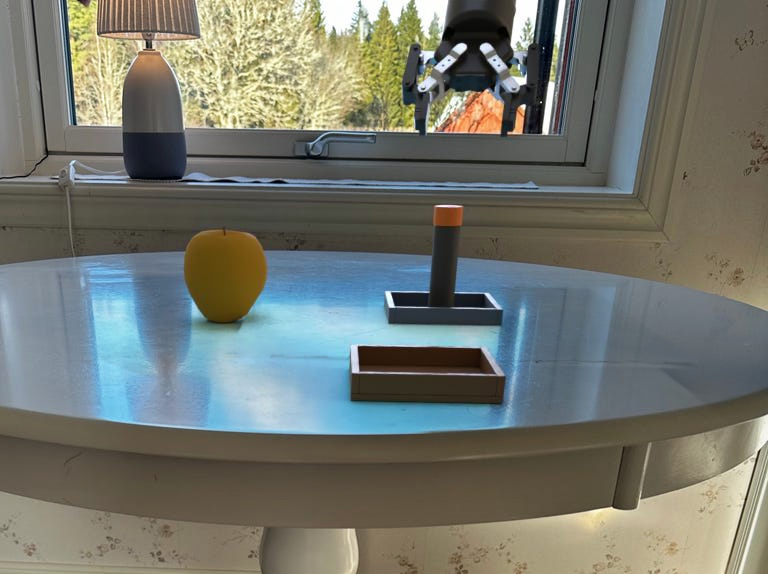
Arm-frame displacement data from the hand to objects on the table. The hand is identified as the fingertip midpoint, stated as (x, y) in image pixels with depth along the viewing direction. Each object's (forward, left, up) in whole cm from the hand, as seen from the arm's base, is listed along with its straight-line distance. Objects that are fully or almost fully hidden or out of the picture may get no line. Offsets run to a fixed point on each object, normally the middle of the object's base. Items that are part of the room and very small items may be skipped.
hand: (463, 130), depth 100 cm
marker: (+2, +11, -17) cm, 20 cm away
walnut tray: (+6, +39, -17) cm, 43 cm away
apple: (+24, +13, -17) cm, 32 cm away
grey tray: (+2, +11, -17) cm, 21 cm away
